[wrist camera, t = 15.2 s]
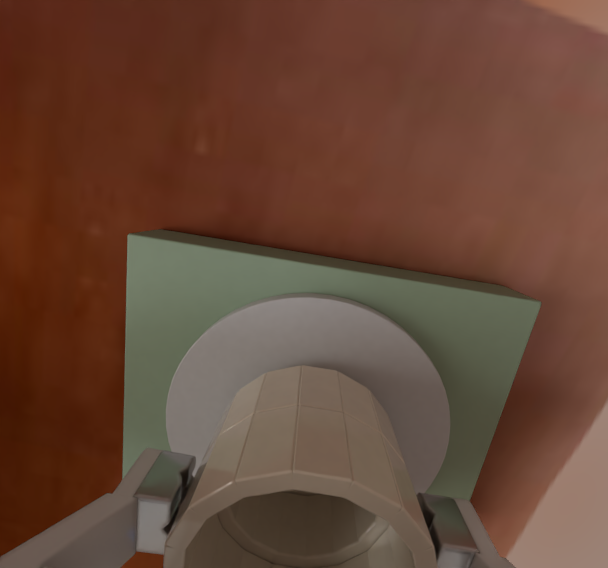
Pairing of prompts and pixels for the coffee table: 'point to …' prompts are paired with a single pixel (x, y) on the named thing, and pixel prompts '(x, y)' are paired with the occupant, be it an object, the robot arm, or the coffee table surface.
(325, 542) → the white cup
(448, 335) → the scale
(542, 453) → the coffee table surface
